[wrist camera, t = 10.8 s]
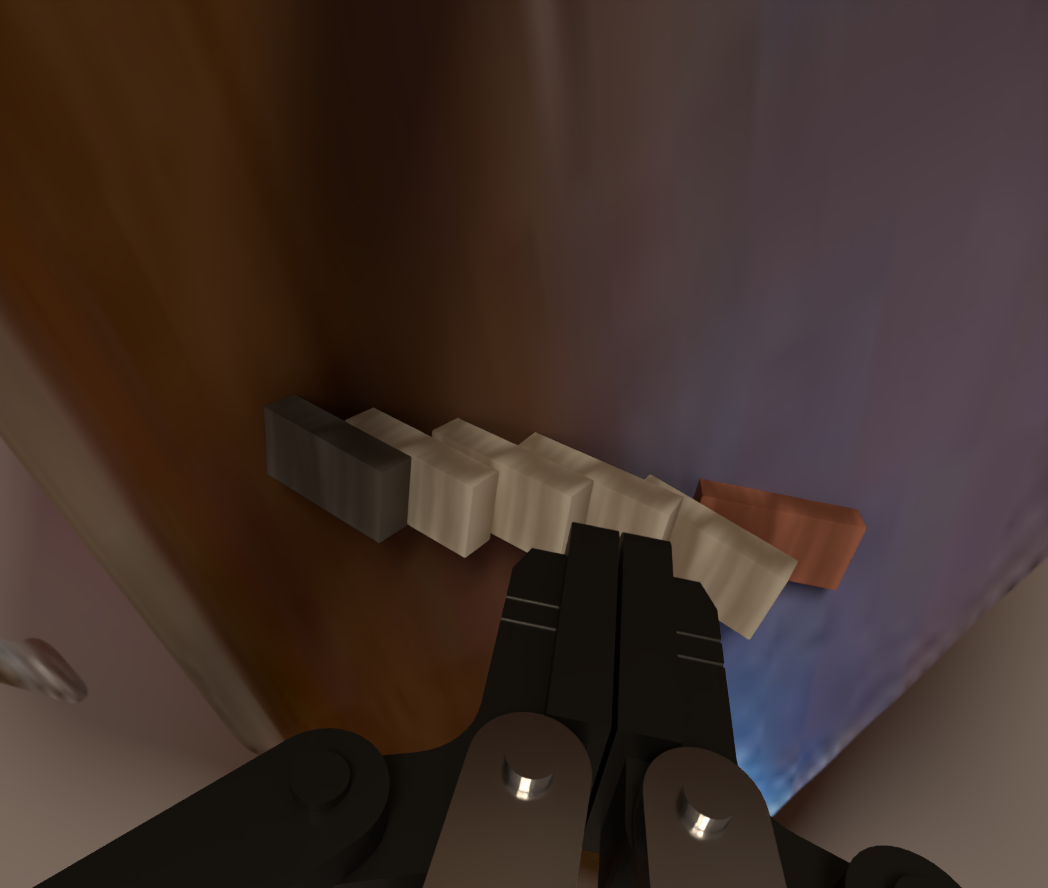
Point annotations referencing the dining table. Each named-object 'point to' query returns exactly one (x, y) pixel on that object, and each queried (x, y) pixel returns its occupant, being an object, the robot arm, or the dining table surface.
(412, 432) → the domino
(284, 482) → the domino
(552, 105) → the dining table surface
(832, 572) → the domino
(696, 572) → the domino
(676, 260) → the dining table surface
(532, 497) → the domino
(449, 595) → the dining table surface
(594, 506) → the domino
